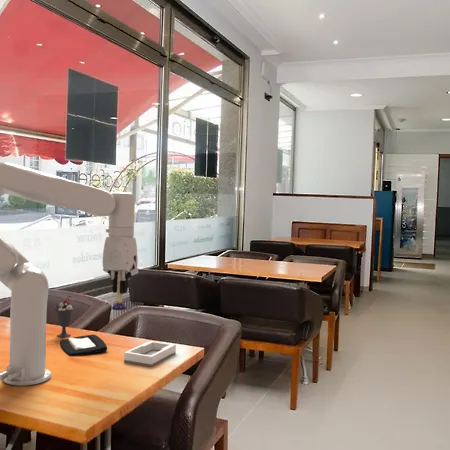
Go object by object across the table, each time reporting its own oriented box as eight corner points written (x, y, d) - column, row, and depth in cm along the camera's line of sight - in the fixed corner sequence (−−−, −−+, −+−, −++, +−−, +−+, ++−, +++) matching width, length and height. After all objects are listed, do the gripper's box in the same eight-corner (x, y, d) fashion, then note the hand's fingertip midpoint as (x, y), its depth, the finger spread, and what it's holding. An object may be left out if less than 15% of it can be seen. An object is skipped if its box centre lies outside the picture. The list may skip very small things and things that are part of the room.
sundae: (77, 335, 195) (77, 295, 195) (62, 339, 189) (63, 298, 189) (65, 332, 199) (65, 293, 198) (50, 336, 193) (51, 296, 192)
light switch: (56, 337, 186) (96, 330, 192) (57, 345, 186) (96, 338, 192) (67, 352, 168) (110, 344, 174) (68, 361, 168) (110, 352, 175)
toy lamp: (115, 306, 162) (116, 253, 161) (129, 307, 161) (131, 254, 160) (109, 310, 157) (110, 255, 156) (124, 310, 156) (125, 255, 156)
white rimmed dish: (151, 366, 161) (151, 356, 161) (124, 361, 165) (124, 352, 165) (175, 353, 176) (175, 344, 176) (149, 349, 180) (150, 340, 180)
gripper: (92, 231, 158) (91, 292, 159) (136, 234, 152) (135, 297, 152) (106, 231, 165) (105, 288, 165) (150, 233, 159) (148, 293, 159)
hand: (120, 292), depth 159 cm, fingers closed on toy lamp
